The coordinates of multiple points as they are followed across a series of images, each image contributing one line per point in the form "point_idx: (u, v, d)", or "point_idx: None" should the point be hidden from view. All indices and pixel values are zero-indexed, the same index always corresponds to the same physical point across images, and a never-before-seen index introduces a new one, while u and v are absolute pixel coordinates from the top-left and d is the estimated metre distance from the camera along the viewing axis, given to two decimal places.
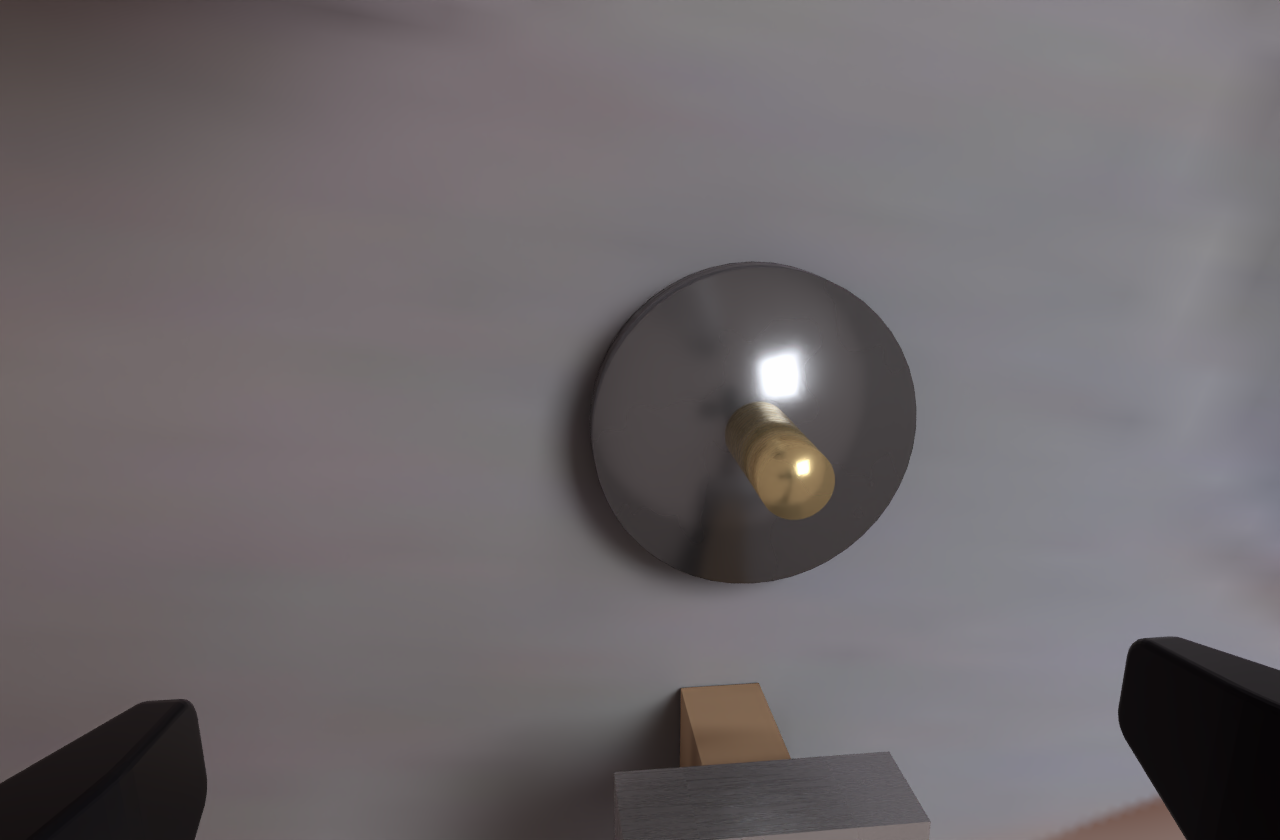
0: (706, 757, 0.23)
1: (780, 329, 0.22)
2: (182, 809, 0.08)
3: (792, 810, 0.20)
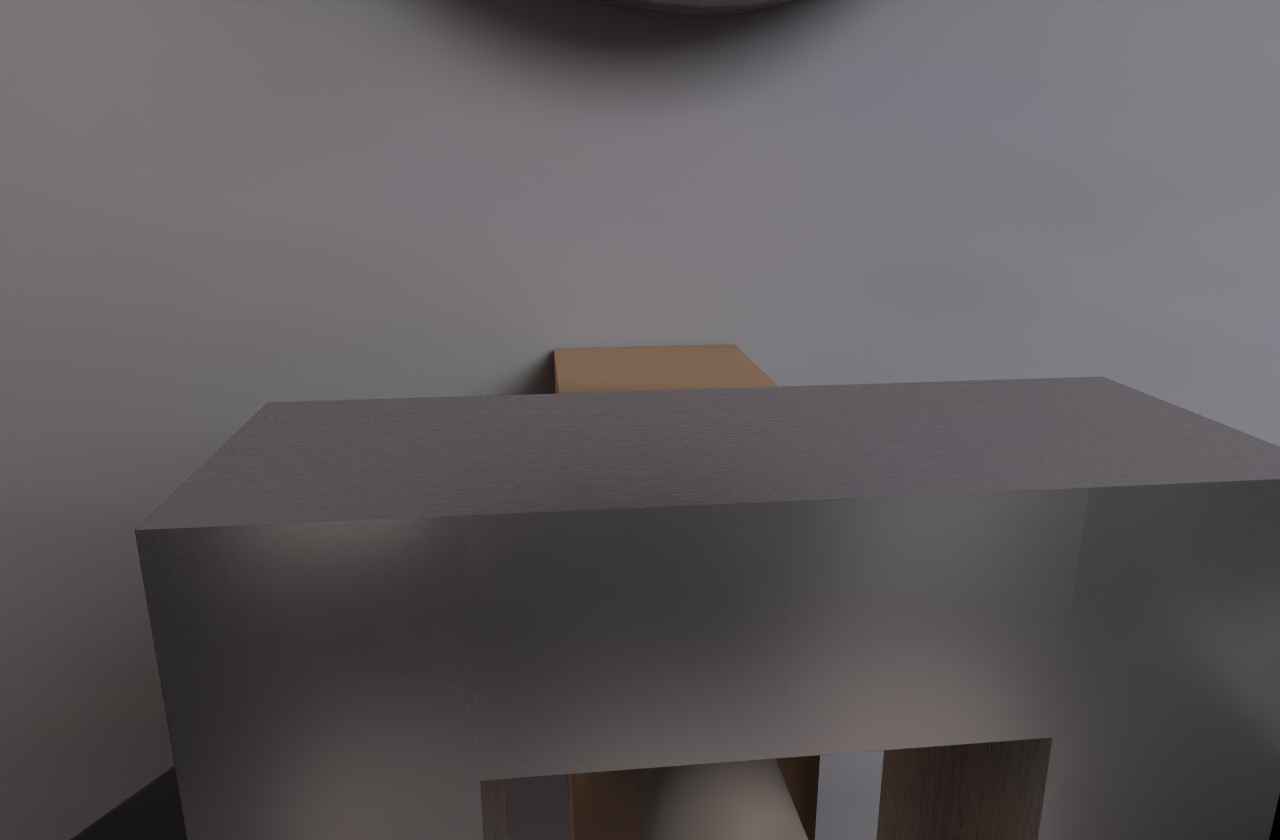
0: None
1: None
2: None
3: (831, 456, 0.06)
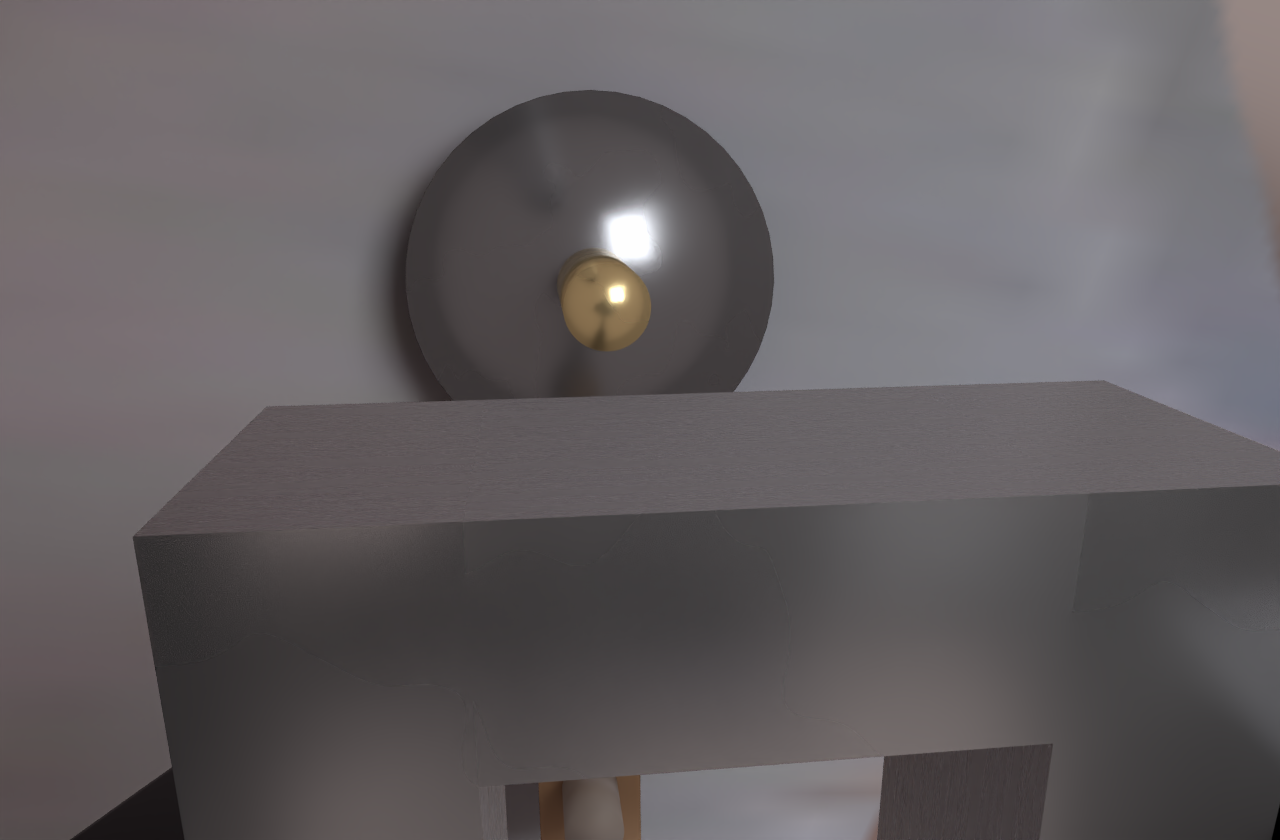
0: None
1: (612, 162, 0.19)
2: None
3: (829, 462, 0.06)
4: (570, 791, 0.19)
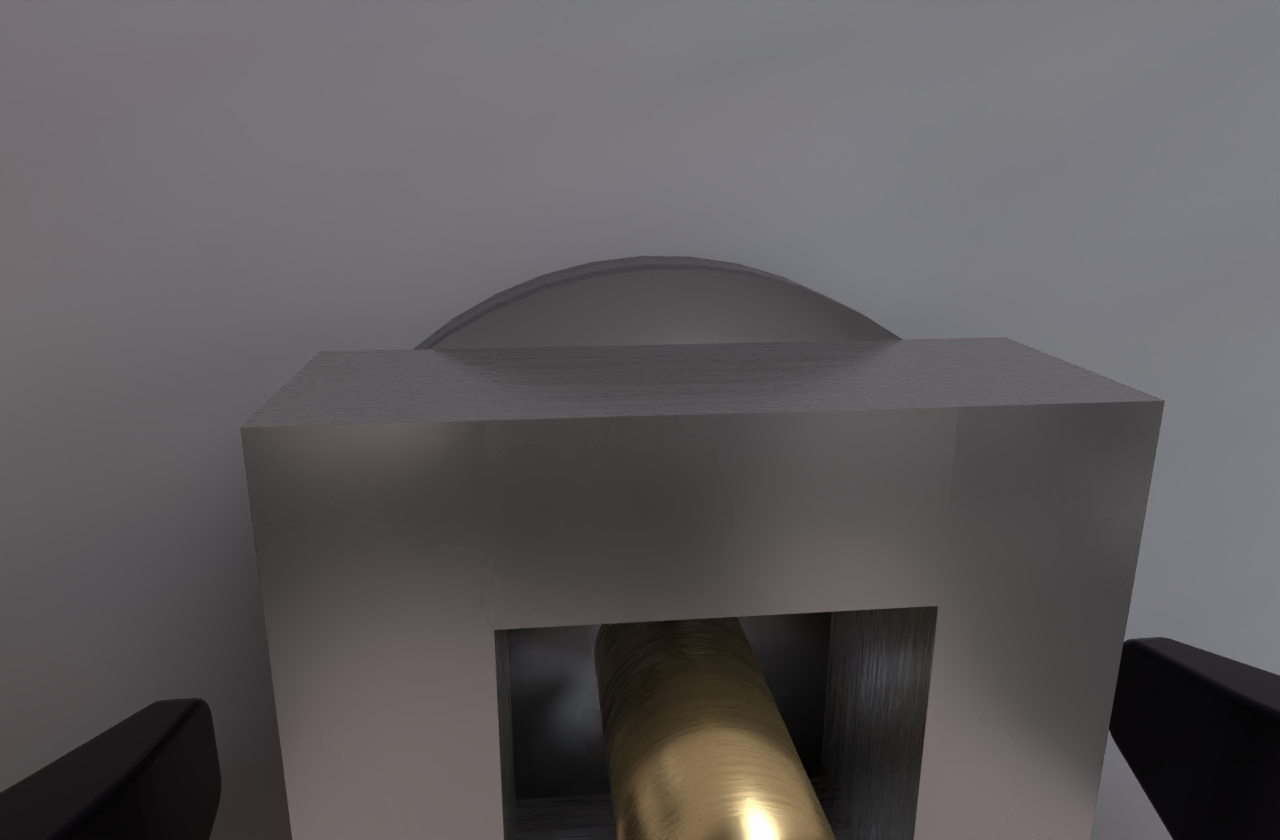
0: None
1: None
2: (197, 808, 0.08)
3: (768, 387, 0.07)
4: None
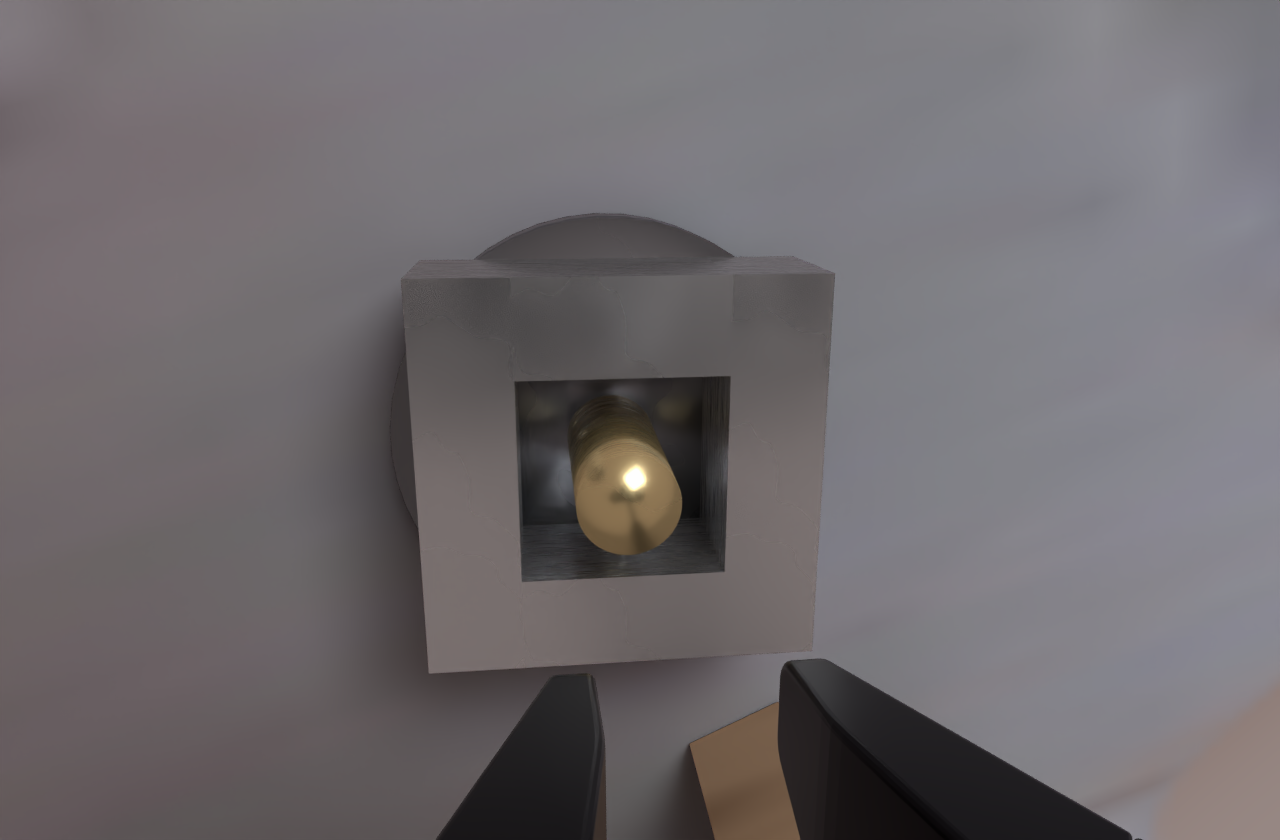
0: (722, 838, 0.18)
1: None
2: None
3: (647, 270, 0.15)
4: None
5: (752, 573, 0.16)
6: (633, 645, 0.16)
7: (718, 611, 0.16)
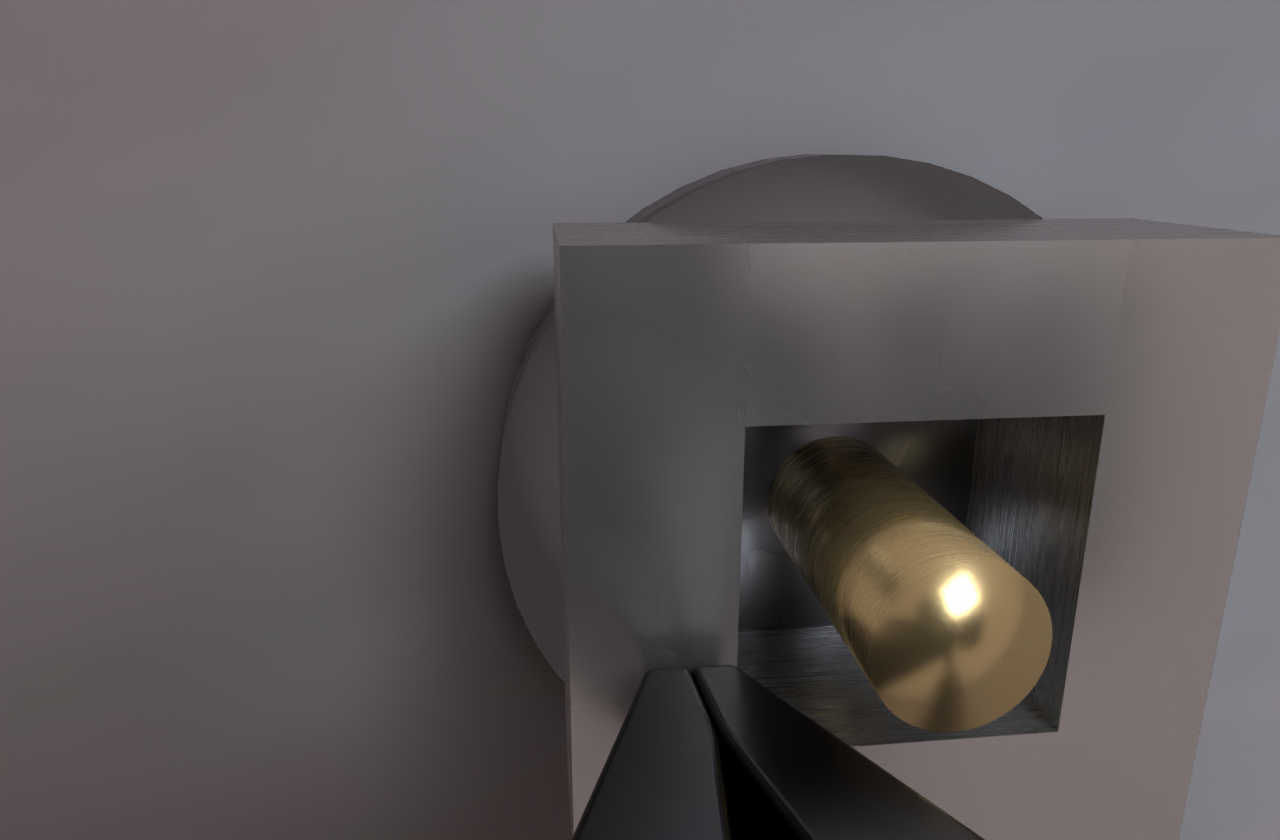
0: None
1: None
2: None
3: (960, 234, 0.09)
4: None
5: (1100, 732, 0.10)
6: None
7: (1041, 792, 0.10)
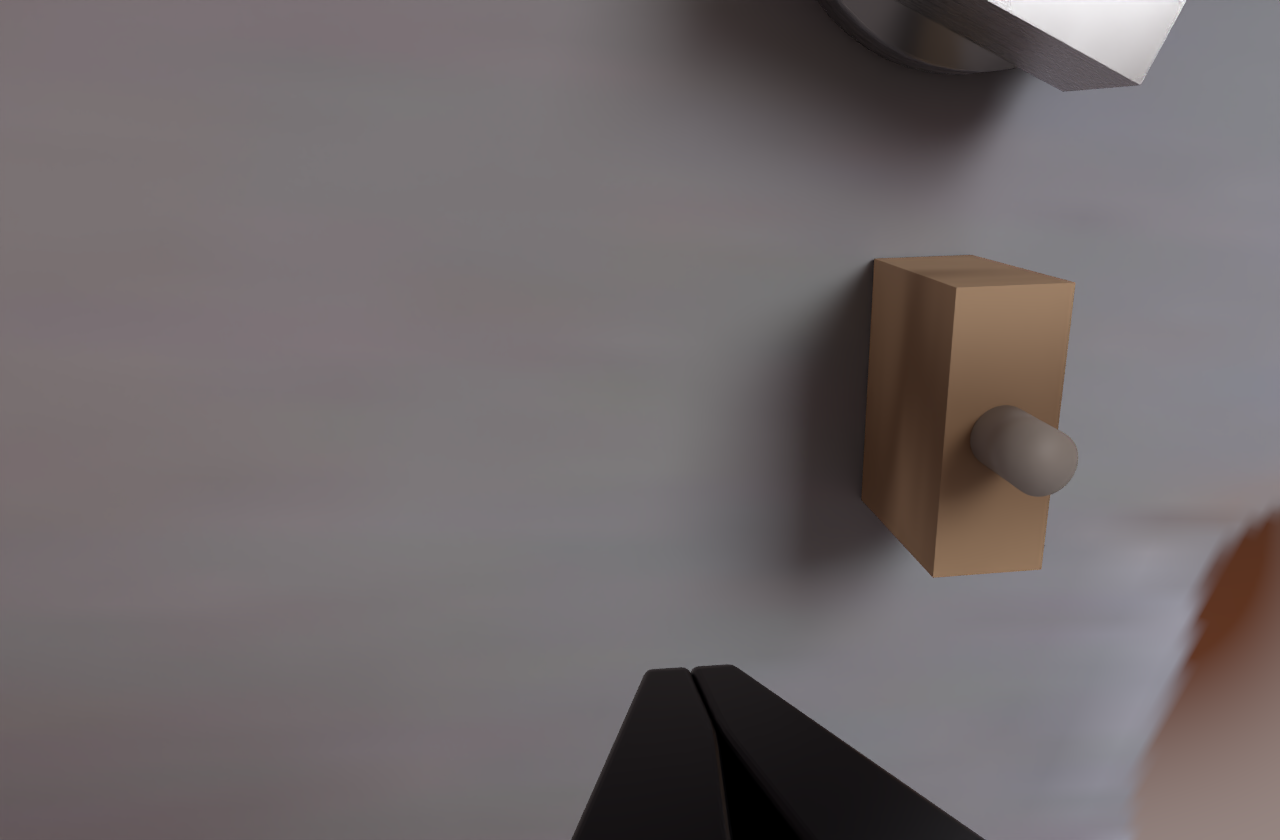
0: (941, 279, 0.17)
1: None
2: None
3: None
4: (999, 427, 0.16)
5: None
6: None
7: None
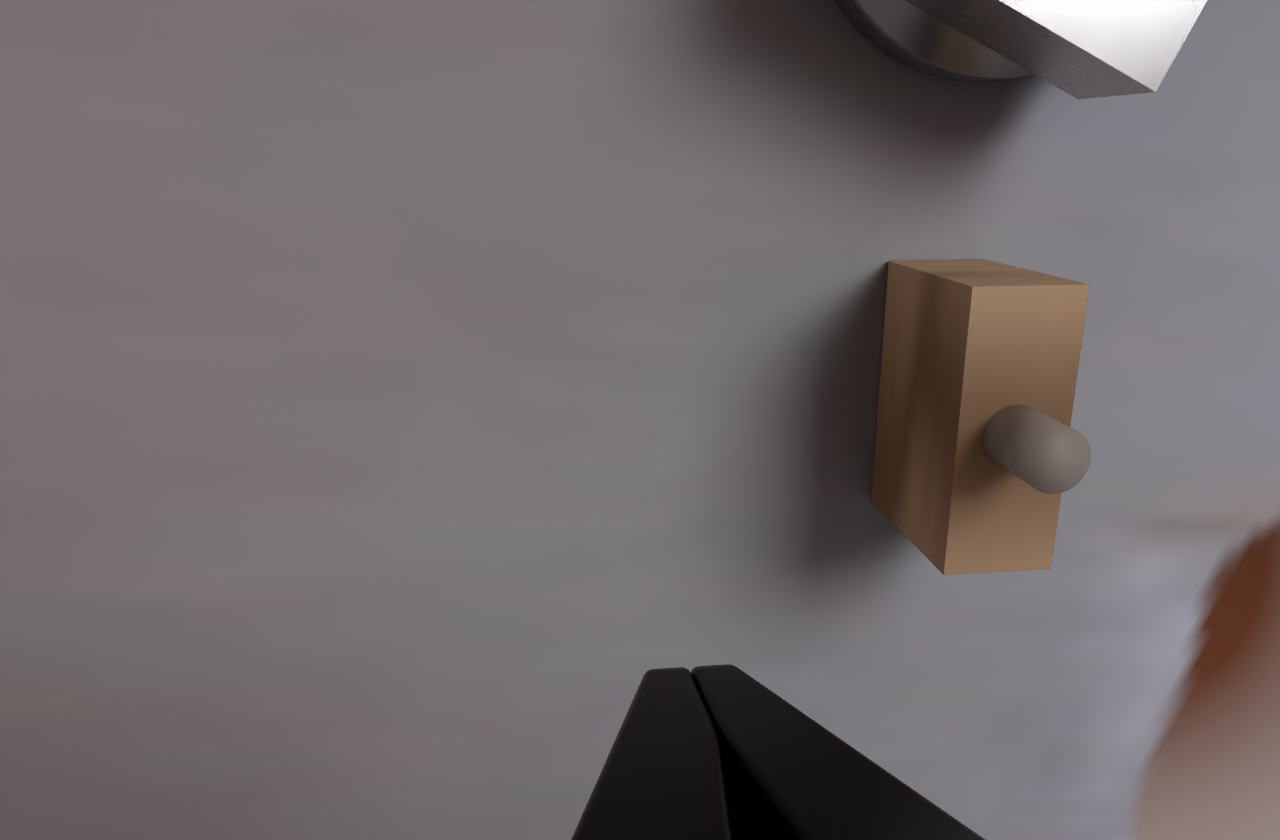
0: (957, 279, 0.17)
1: None
2: None
3: None
4: (1012, 425, 0.16)
5: None
6: None
7: None
